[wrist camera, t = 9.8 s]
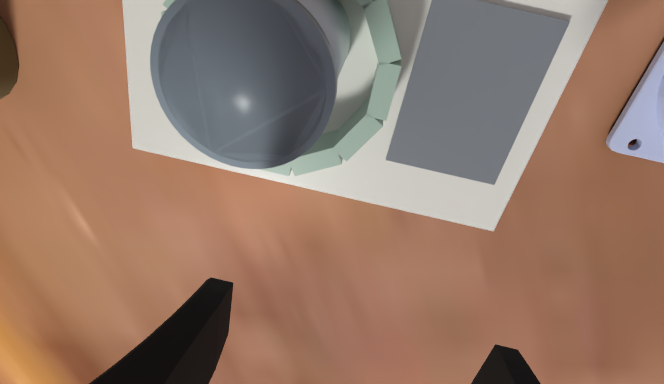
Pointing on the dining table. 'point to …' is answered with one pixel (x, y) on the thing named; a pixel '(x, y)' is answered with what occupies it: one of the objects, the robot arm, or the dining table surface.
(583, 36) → the white base plate
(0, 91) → the cork
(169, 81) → the tube
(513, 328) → the dining table surface
